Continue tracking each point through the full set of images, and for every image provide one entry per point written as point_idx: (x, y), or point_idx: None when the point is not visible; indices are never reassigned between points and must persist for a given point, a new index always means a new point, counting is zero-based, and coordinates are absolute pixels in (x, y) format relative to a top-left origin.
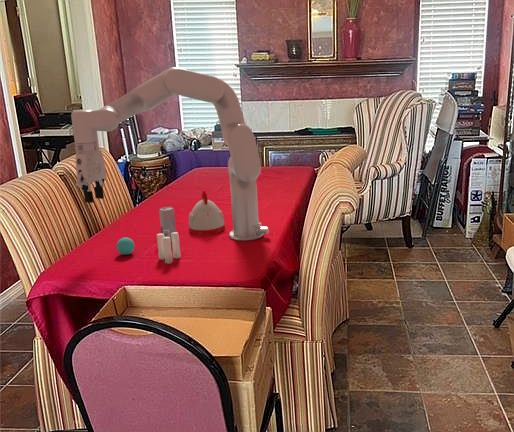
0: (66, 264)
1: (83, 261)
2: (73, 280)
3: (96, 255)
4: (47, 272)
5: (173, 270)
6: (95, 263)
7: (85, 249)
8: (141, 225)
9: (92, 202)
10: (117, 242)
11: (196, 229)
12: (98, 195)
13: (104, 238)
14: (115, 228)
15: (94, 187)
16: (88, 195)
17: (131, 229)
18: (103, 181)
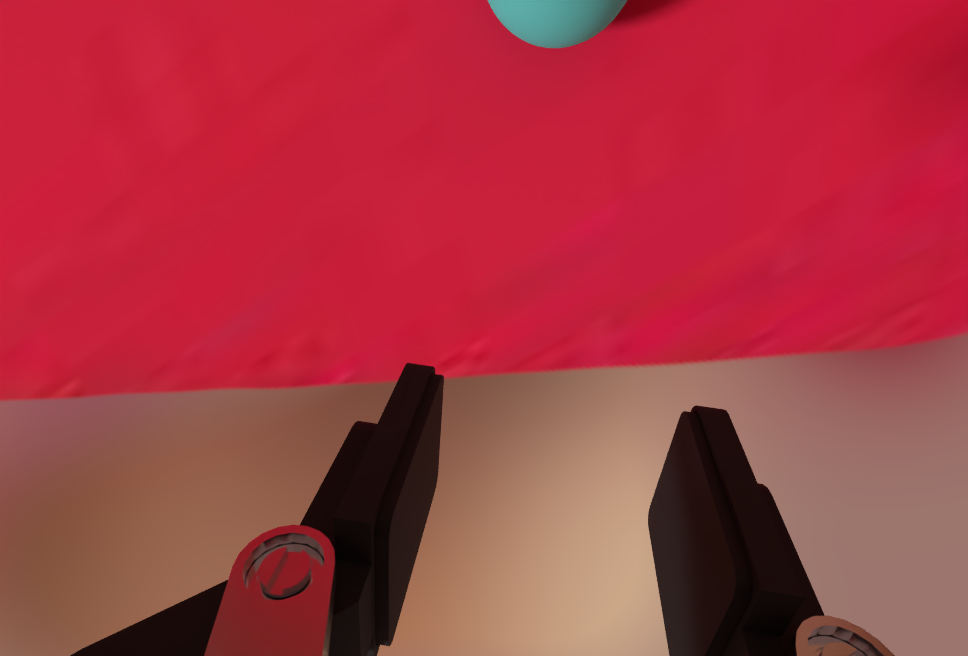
0: (786, 304)
1: (730, 227)
2: None
3: (608, 204)
4: (929, 340)
5: None
6: (775, 114)
7: (511, 334)
8: (12, 227)
9: (716, 409)
10: (587, 25)
11: None
12: (427, 467)
13: (308, 327)
14: (140, 356)
15: (374, 653)
16: (795, 556)
17: (104, 251)
18: (129, 651)
